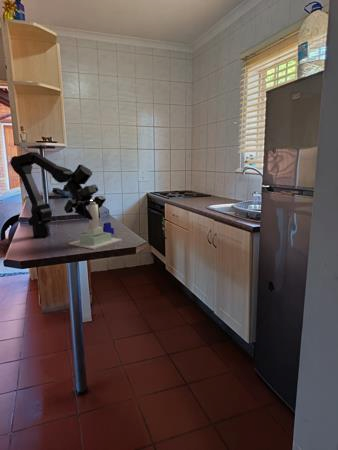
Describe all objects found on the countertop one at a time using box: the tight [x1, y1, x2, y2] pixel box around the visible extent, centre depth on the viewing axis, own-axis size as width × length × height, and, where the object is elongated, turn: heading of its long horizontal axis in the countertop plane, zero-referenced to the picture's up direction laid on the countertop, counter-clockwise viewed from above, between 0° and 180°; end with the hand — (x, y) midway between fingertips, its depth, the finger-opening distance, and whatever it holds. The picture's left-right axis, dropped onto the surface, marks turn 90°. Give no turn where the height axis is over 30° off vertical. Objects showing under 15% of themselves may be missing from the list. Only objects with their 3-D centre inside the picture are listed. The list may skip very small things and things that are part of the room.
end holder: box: [68, 232, 123, 250], centre depth 131 cm, size 16×16×4 cm
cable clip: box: [102, 221, 115, 235], centre depth 149 cm, size 12×4×6 cm, turn 49°
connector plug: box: [85, 202, 104, 235], centre depth 130 cm, size 5×5×14 cm
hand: (95, 218), depth 129 cm, fingers closed on connector plug, 4 cm apart
